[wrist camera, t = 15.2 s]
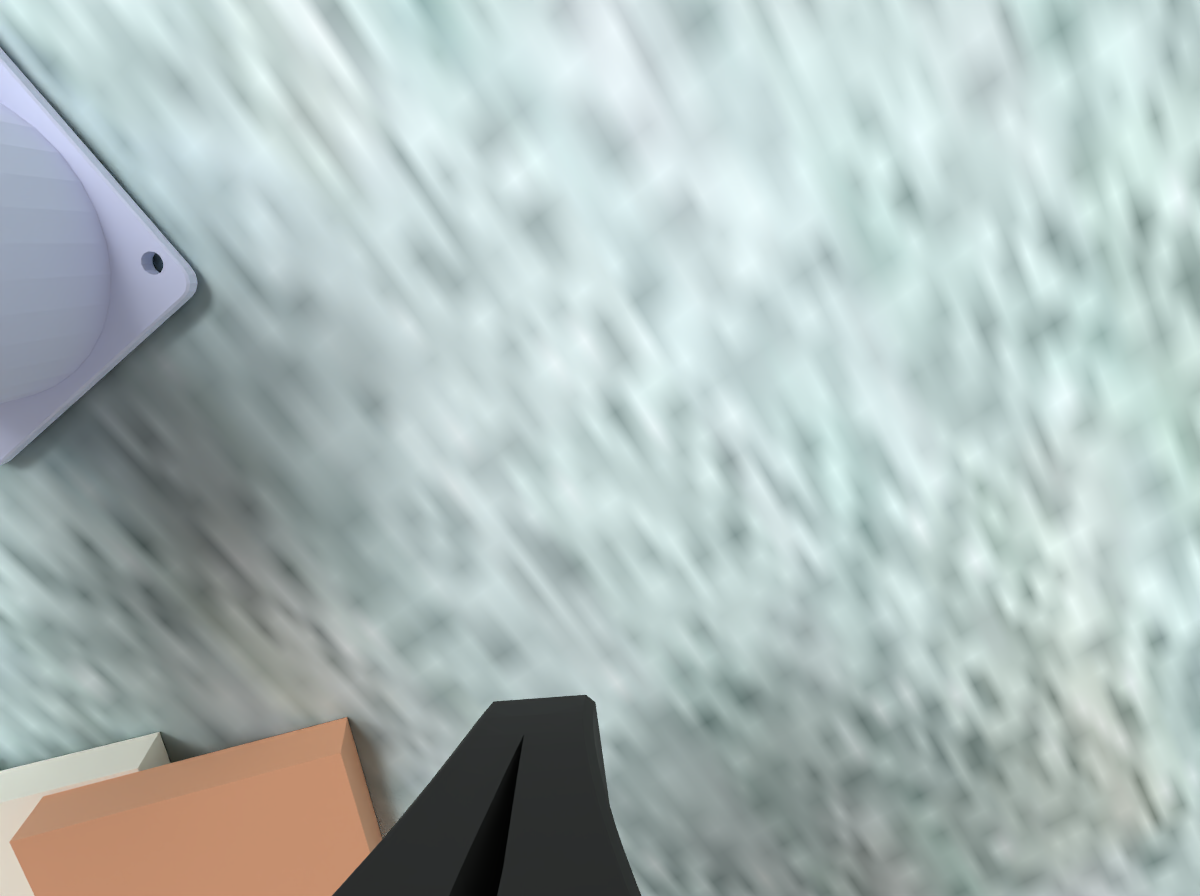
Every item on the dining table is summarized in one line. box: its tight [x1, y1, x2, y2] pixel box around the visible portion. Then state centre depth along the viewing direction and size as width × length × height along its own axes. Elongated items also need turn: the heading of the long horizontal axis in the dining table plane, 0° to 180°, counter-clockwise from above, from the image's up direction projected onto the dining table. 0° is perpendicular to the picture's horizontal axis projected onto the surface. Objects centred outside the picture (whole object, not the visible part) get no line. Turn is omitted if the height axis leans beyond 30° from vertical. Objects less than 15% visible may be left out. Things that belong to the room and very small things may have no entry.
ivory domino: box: [0, 732, 171, 896], centre depth 20 cm, size 2×4×8 cm
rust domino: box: [9, 717, 382, 896], centre depth 19 cm, size 2×4×8 cm
